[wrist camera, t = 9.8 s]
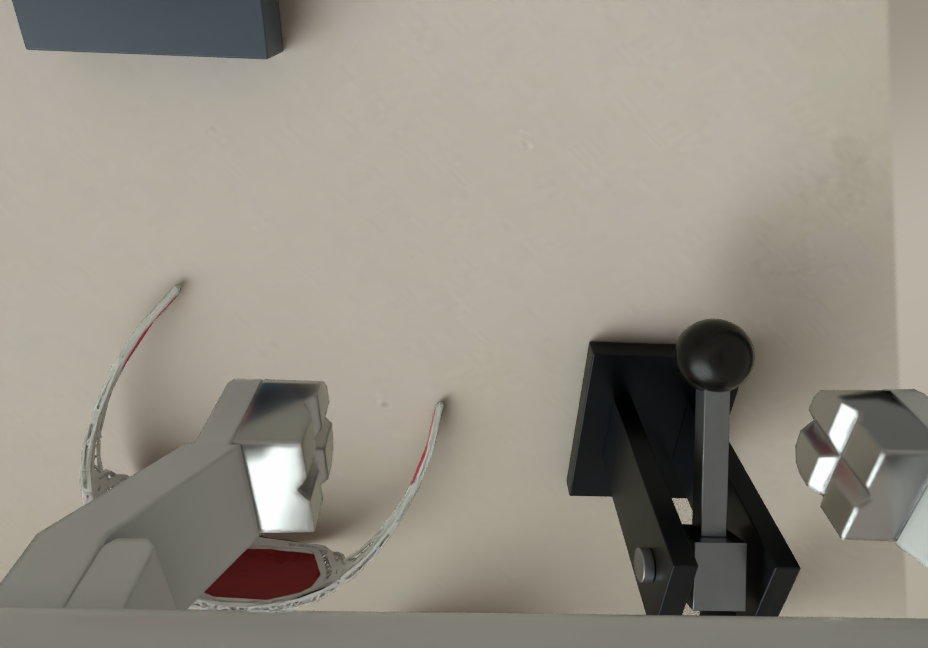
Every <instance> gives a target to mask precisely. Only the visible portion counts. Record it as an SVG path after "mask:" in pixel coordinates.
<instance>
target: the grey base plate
mask: <svg viewBox="0 0 928 648" xmlns="http://www.w3.org/2000/svg"><path fill="white" fill-rule="evenodd" d="M12 2H13V5H14V9H15V12H16V16H17V19H18V23H19V26H20V30H21V33H22V36H23V40H24V43H25V47H26V49H28V50H47V51H72V52H97V53H123V54H148V55H173V56H198V57H224V58H249V59H269V58H271V57H273V56H275V55H277V54H279V53H281V52H283V43H282V33H281V23H280V13H279V3H278V0H12Z"/></svg>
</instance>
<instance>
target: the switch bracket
mask: <svg viewBox="0 0 928 648" xmlns="http://www.w3.org/2000/svg"><path fill="white" fill-rule="evenodd" d="M675 347H676V344H648V343H613V342H590V343H589V348H588V354H587V360H586V366H585V372H584V378H583V384H582V390H581V396H580V403H579V409H578V415H577V421H576V427H575V433H574V439H573V445H572V451H571V457H570V464H569V470H568V476H567V486H568V491H569V495H570V496H611V497H613V501H614V504H615V508H616V511H617V515H618V518H619V522H620V525H621V529H622V532H623V536H624V539H625V543H626V546H627V550H628V553H629V557H630V560H631V563H632V567H633V570H634V574H635V577H636V581H637V584H638V588H639V591H640V595H641V598H642V602H643V605H644V609H645V612H646V615H682V613H683V610H684V608H685V605H686V602H687V599H688V596H689V593H690V590H691V587H692V584H693V581H694V578H695V575H696V572H697V569H698V563H697V561H696V558H695V556H694V553H693V551H692V548H691V546H690V543H689V541H688V538H687V536H686V533H685V531H684V528H683V526H682V523H681V521H680V518H679V516H678V513H677V511H676V508H675V506H674V503H673V501H672V498H687V499H688V501H689V504H690V506H691V508H692V511H693V480H694V442H695V404H696V389H695V388H694V387H692V386H691V385H689V384H688V383H687V382H686V381H685V380H684V379H683V378H682V377H681V375H680V374H679V372H678V370H677V367H676V364H675V359H674V352H675ZM738 388H739V386H738V387H737V388H735V389H733V390H731V391H730V413H731V410H732V407H733V403H734V400H735V397H736V394H737V391H738ZM727 529H728V530H729V531H730V532H732V533H733V534H735V535H736V536H737V537H739V538H740V539H741V540H743V541H744V542H746V543H747V575H746V611H736V614H737V616H772V617H778V616H779V614H780V612H781V610H782V607H783V605H784V603H785V601H786V599H787V597H788V595H789V592H790V590H791V588H792V586H793V584H794V582H795V579H796V577H797V575H798V573H799V571H800V566H799V564H798V562H797V561H796V559H795V557H794V555H793V554H792V552H791V550H790V548H789V546H788V545H787V543H786V541H785V539H784V538H783V536H782V534H781V532H780V531H779V529H778V527H777V525H776V523H775V522H774V520H773V518H772V516H771V515H770V513H769V511H768V509H767V508H766V506H765V504H764V502H763V500H762V499H761V497H760V495H759V493H758V492H757V490H756V488H755V486H754V485H753V483H752V481H751V479H750V477H749V476H748V474H747V472H746V470H745V469H744V467H743V465H742V463H741V462H740V460H739V458H738V456H737V454H736V453H735V451H734V449H733V447H732V446H731V444H730V442H729V455H728V494H727Z"/></svg>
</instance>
